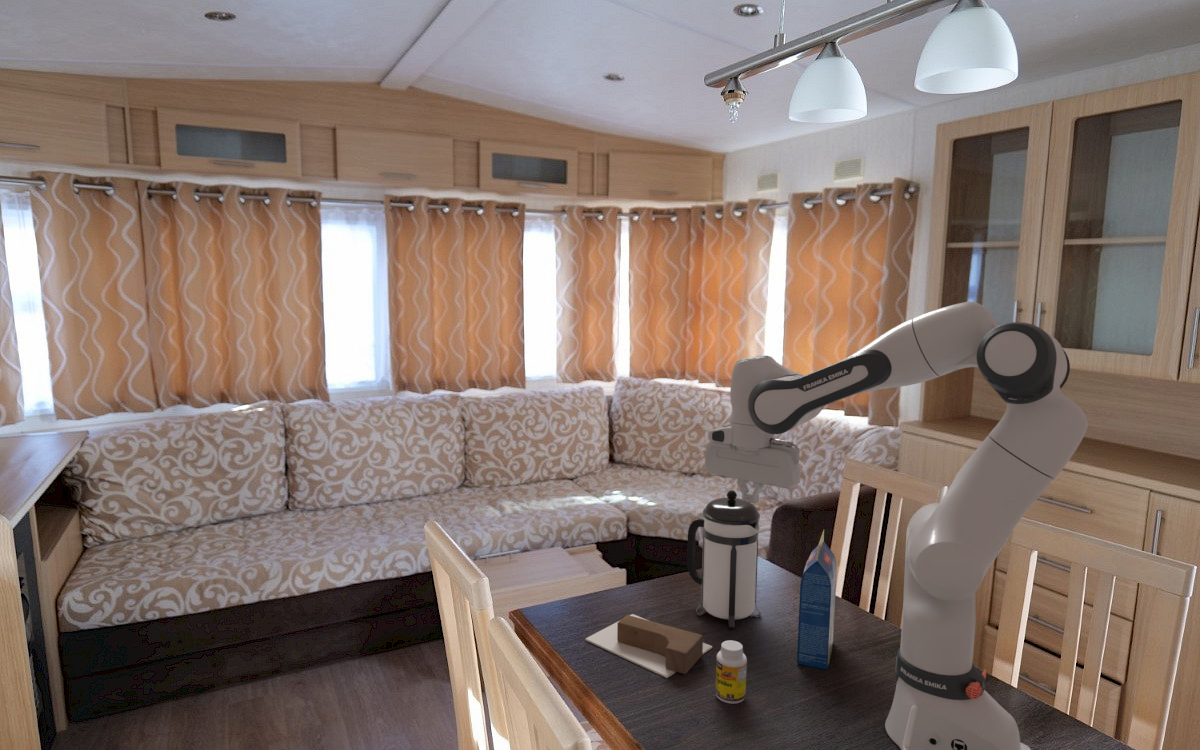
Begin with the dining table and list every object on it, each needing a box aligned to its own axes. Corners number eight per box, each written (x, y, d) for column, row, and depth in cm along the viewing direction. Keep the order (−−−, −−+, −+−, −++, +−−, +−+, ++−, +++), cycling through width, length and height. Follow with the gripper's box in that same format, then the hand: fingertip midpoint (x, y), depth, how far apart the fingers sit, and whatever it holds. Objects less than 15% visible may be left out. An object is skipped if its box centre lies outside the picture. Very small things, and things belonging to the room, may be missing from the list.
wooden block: (686, 653, 140) (606, 630, 149) (685, 675, 140) (606, 651, 149) (703, 634, 147) (626, 613, 156) (703, 655, 148) (626, 633, 157)
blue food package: (795, 663, 146) (801, 545, 143) (803, 637, 157) (808, 527, 154) (828, 670, 143) (834, 550, 140) (833, 643, 154) (839, 531, 151)
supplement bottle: (709, 695, 134) (710, 643, 133) (729, 685, 138) (731, 634, 136) (731, 709, 130) (733, 656, 129) (751, 698, 133) (753, 646, 132)
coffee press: (757, 601, 174) (762, 482, 170) (763, 633, 158) (768, 501, 155) (686, 597, 176) (688, 478, 173) (684, 627, 161) (687, 498, 157)
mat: (712, 648, 152) (712, 646, 152) (667, 678, 140) (667, 676, 140) (632, 615, 166) (632, 613, 166) (585, 640, 154) (585, 638, 154)
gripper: (806, 439, 140) (804, 508, 142) (717, 427, 154) (716, 489, 155) (791, 445, 136) (790, 515, 137) (701, 431, 149) (700, 495, 151)
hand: (750, 501), depth 146 cm, fingers closed
